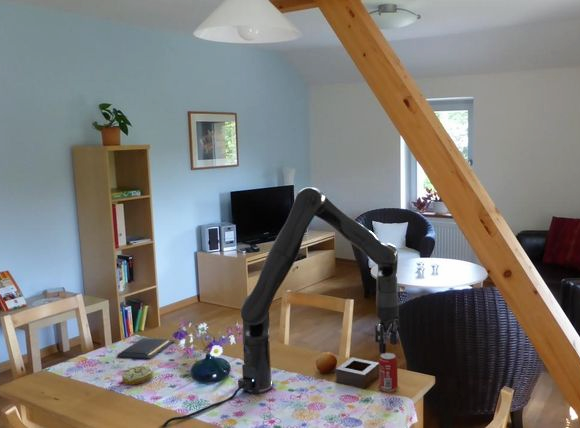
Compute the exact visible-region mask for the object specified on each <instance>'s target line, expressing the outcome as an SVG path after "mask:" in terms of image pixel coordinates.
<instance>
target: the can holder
mask: <svg viewBox="0 0 580 428" xmlns="http://www.w3.org/2000/svg"><path fill="white" fill-rule="evenodd" d="M377 379H379V362H376V361H372V360H367V359H363V358H357V357H350V358H349V359H347V360H346V361H344V362H343V363H342V364H341V365H339V366H337V367H336V368H335V383H338V384H343V385H347V386H352V387H356V388H360V389H364V390H365V389H367V388H368V387H369V386H370V385H371V384H372V383H373V382H375V381H376V380H377Z"/></svg>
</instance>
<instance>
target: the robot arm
mask: <svg viewBox="0 0 580 428" xmlns="http://www.w3.org/2000/svg"><path fill="white" fill-rule="evenodd" d="M315 217H317V218H318V219H321V220H322V221H323V222H325V223H327V224H328V225H329V226H331V227H332V228H333V229H334V230H335V231H336V232H337V233H338V234H339V235H341V236H342V237H343V238H344V239H345V240H346V241H348V242H349V243H351V244H352V245H353V246H354V247H356V248H357V249H359V251H361V252H363V253H364V254H365V256H367V257H368V258H369V259H370V260H371V261H372V262H373V263H374V264H376V265H377V275H376V293H375V294H376V295H375V309H376V312H375V313H376V317H377V318H378V319H379V324H375V325H374V326H375V327H374V328H375V332H374V333H375V334H374V335H375V337H374V339H375V343H378V352H379V353H380V354H385V353H387V343H386V342H387V339H388V337H389V344H390V345H393V346H396V345H397V344H398V343H397V341H398V339H397V335H398V332H399V331H400V330H401V326H400V324H401V323H400V314H399V293H398V263H399V262H398V261H399V254H398V250H397V248H396V246H395V245H393V244H391V243H383V242H382V241H380V240H379V239H378V238H377V236H376V234H374V232H372V231H371V230H369V229H368V228H367V227H365V226H364V225H363V224H361V223H360V222H358V221H357V220H355V219H354V218H352V217H351V216H349V215H348V214H347V213H345V212H343V211H342V210H341V209H340V208H338V206H336V204H334V203H332V201H331V200H330V199H329V198H328V197H327V196H326V195H325V194H324V193H323V192H322V191H321V190H320V189H319V188H317V187H311V186H310V187H308V186H307V187H304V188H302V189H301V190H300V191H299V192H298V193H296V195H295V199H294V201H293V204H292V207H291V210H290V212H289V214H288V216H287V219H286V221H285V223H284V225H283V226H282V227H281V230H280V231H279V232H278V233H277V236H276V238H275V240H274V242H273V243H272V245H271V247H270V249H269V251H268V253H267V255H266V257H265V259H264V262H263V264H262V268H261V270H260V273H259V276H258V279H257V282H256V284H255V285H254V287H253V289H252V291H251V293H250V294H249V295H247V296H246V297H245V298H244V299H243V301H242V304H241V307H240V318H241V319H242V351H243V364H242V365H241V368H242V370H241V371H242V377H241V378H238V380H237V389H236V390H235V391H234V392H233V394H232V395H231V396H229V397H228V398H226V399H224V400H221V401H217V402H215V403H212V404H209V405H208V406H205V407H202V408H200V409H197V410H195V411H193V412H191V413H188V414H185V415H181V416H174V417H170V418H169V419H167V420H166V421H165V422H163V424H162V425H161V426H162V428H166V426H167V425H168V424H169V423H172V422H173V421H178V420H185V419H189V418H190V417H193V416H196V415H198V414H200V413H202V412H205V411H207V410H209V409H211V408H214V407H217V406H220V405H222V404H225V403H226V402H228V401H231V400H233V399H234V398H235V397H236V396H237V394H238V393H239V392H240V391H241V390H243V391H244V392H247V393H251V394H253V395H259V394H261V393H265V392H268V391H269V390H271V389H272V388H273V382H272V364H271V363H272V362H271V361H272V360H271V340H270V339H271V338H270V336H271V335H270V332H271V331H270V330H271V329H270V308H271V305H272V303H273V301H274V298H275V296H276V294H277V293H278V290H279V289H280V287H281V286H282V284H283V283H284V281H285V280H286V278H287V276H288V275H289V273H290V271H291V269H292V268H293V265H294V264H295V261H296V259H297V258H298V255H299V253H300V250H301V247H302V245H303V241H304V238H305V234H306V232H307V229H308V228H309V226H310V225H311V223H312V221H313V219H314V218H315Z"/></svg>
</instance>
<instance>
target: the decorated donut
mask: <svg viewBox="0 0 580 428" xmlns="http://www.w3.org/2000/svg"><path fill="white" fill-rule="evenodd" d="M153 375H154V369H153V368H152V367H151V366H150V365H144V364H142V365H135V366H132V367H129V368H128V369H126V370H125V371H123V373H122V374H121V378H122V382H123V383H124V384H125V385H137V384H142V383H145V382H147V381H149V380H151V378H152V377H153Z"/></svg>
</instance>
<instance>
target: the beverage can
mask: <svg viewBox="0 0 580 428" xmlns="http://www.w3.org/2000/svg"><path fill="white" fill-rule="evenodd" d="M378 363H379V377H378V380H379V381H378V382H379V383H378V385H379V388H380V389H381V390H382V391H384V392H388V393H389V392H393V391H395V390H396V389H397V388H398V385H399V384H398V381H399V379H398V358H397V357H396V354H395V353H393V352H386V353H385V354H383V353H381V355H380V356H379V358H378Z"/></svg>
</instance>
